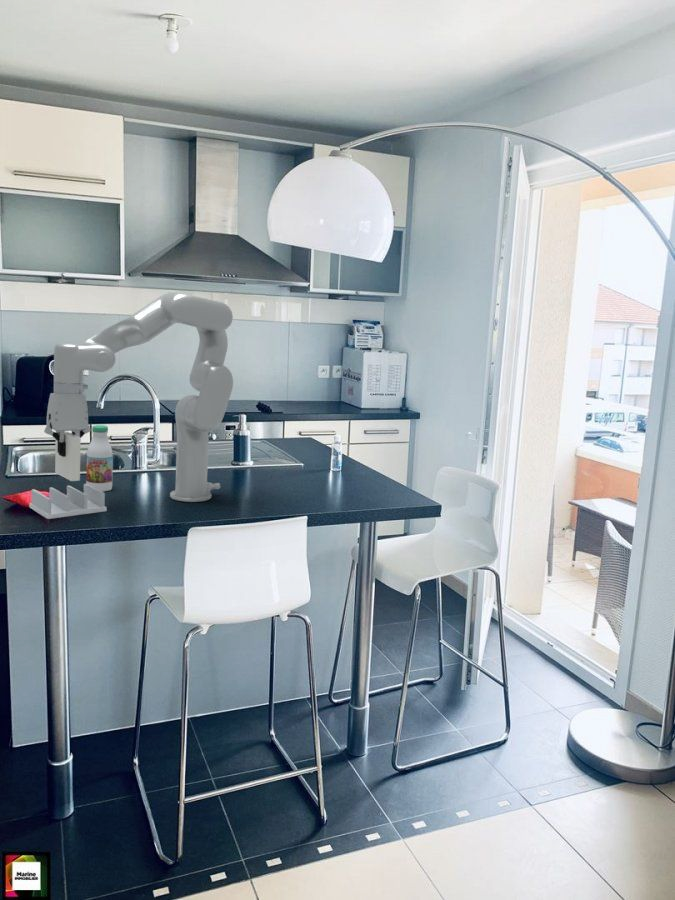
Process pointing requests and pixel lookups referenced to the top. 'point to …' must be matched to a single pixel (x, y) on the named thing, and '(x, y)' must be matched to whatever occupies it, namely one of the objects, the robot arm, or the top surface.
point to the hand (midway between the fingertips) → (67, 454)
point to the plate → (69, 458)
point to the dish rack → (68, 502)
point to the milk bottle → (99, 460)
